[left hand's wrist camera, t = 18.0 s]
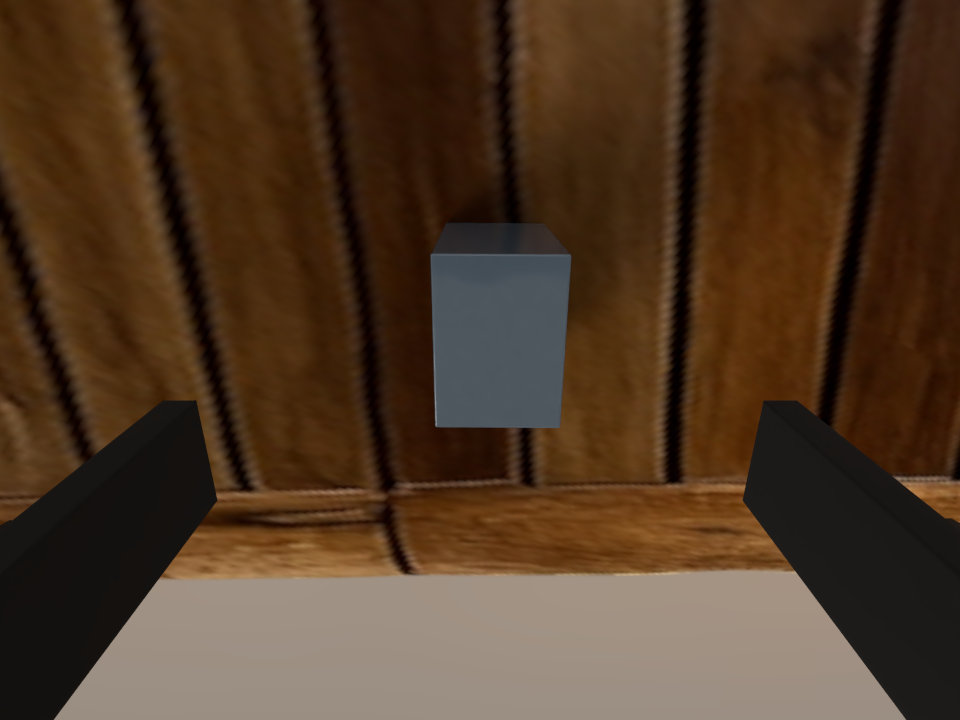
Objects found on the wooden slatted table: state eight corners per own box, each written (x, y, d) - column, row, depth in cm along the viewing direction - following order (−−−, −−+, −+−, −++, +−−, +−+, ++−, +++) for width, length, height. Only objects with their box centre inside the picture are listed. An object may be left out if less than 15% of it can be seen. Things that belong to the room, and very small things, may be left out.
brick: (447, 351, 29) (435, 427, 21) (445, 222, 27) (430, 253, 19) (538, 352, 29) (560, 428, 21) (544, 223, 27) (572, 254, 19)
